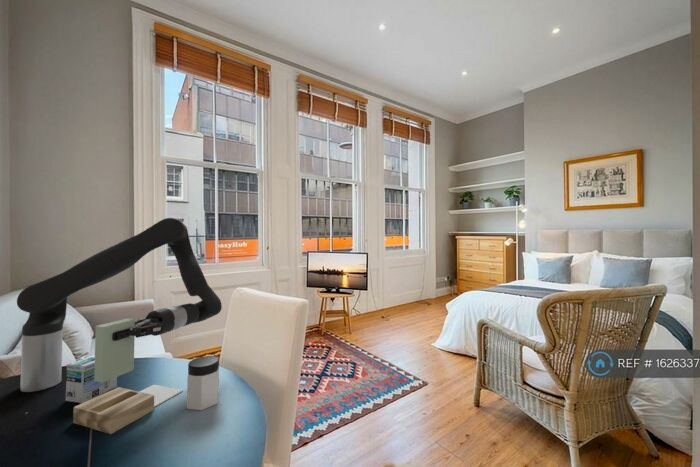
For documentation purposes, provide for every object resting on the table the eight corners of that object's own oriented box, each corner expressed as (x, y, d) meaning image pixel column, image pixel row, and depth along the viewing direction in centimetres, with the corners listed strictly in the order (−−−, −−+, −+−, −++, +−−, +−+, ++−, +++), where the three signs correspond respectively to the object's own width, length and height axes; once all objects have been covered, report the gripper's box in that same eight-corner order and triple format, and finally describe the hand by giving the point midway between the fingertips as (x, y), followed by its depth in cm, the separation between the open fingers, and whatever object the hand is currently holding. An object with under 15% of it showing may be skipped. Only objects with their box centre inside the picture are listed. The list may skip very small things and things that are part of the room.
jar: (217, 408, 85) (218, 365, 85) (185, 413, 82) (185, 369, 82) (219, 392, 93) (220, 353, 94) (190, 397, 90) (190, 357, 91)
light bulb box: (82, 404, 86) (83, 366, 87) (64, 401, 88) (65, 364, 88) (118, 386, 97) (118, 352, 97) (101, 384, 98) (101, 351, 99)
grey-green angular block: (94, 380, 77) (95, 326, 78) (126, 368, 85) (127, 318, 85) (102, 382, 76) (103, 327, 77) (133, 369, 84) (134, 319, 84)
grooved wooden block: (73, 422, 78) (73, 407, 78) (118, 400, 88) (119, 387, 88) (111, 434, 73) (111, 417, 73) (154, 409, 84) (154, 395, 84)
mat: (122, 400, 88) (122, 399, 88) (154, 385, 98) (154, 384, 98) (152, 408, 84) (152, 407, 84) (182, 391, 94) (182, 390, 94)
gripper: (151, 306, 98) (90, 319, 81) (184, 309, 93) (127, 324, 77) (150, 329, 98) (90, 347, 81) (184, 334, 93) (127, 354, 77)
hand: (108, 336), depth 79 cm, fingers closed on grey-green angular block, 3 cm apart
